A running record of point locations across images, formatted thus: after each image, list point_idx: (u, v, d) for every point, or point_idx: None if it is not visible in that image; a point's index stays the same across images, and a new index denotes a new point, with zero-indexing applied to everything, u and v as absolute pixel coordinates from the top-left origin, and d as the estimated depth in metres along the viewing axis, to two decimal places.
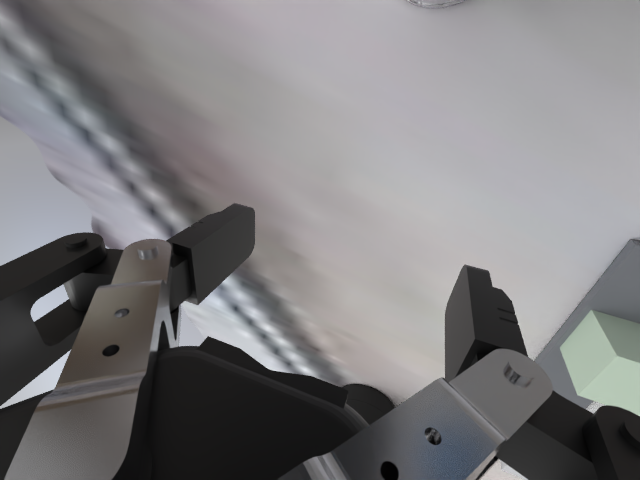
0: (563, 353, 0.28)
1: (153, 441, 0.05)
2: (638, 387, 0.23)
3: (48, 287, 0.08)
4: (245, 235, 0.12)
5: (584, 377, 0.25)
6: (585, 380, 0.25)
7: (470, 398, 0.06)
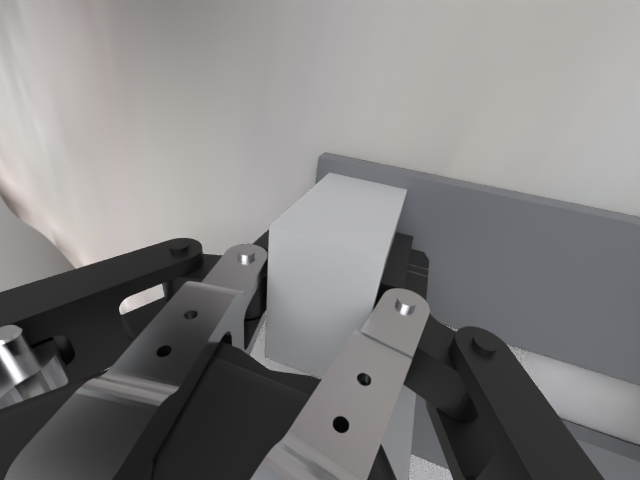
0: None
1: None
2: None
3: (141, 287, 0.08)
4: None
5: None
6: None
7: (379, 337, 0.07)
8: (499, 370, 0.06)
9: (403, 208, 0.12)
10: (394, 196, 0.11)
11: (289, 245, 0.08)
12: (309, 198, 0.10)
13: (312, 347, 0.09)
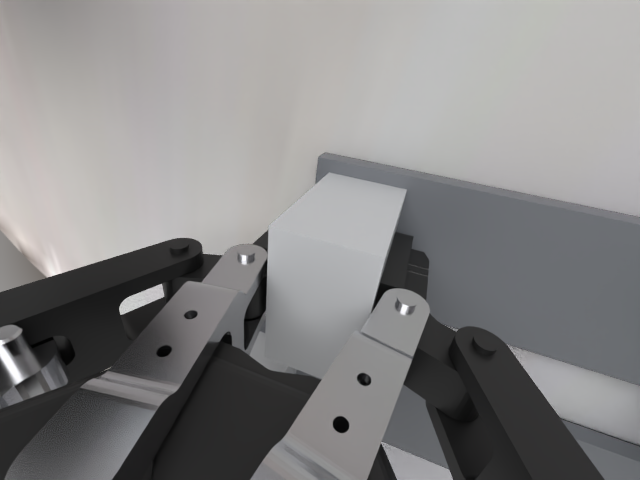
0: None
1: None
2: None
3: (142, 286, 0.08)
4: None
5: None
6: None
7: (379, 337, 0.07)
8: (499, 370, 0.06)
9: (403, 208, 0.12)
10: (394, 196, 0.11)
11: (288, 245, 0.08)
12: (308, 199, 0.10)
13: (312, 347, 0.09)
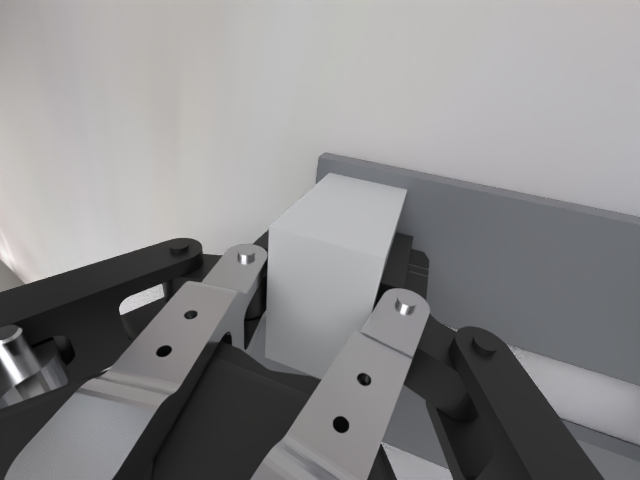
0: None
1: None
2: None
3: (141, 286, 0.08)
4: None
5: None
6: None
7: (379, 337, 0.07)
8: (499, 370, 0.06)
9: (403, 208, 0.12)
10: (394, 196, 0.11)
11: (289, 245, 0.08)
12: (309, 199, 0.10)
13: (312, 347, 0.09)
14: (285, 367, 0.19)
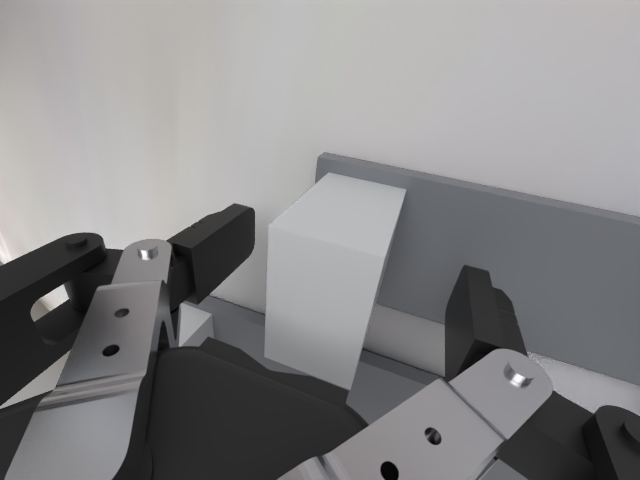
0: None
1: (153, 441, 0.05)
2: None
3: (48, 287, 0.08)
4: (245, 235, 0.12)
5: None
6: None
7: (470, 398, 0.06)
8: None
9: (402, 208, 0.12)
10: (393, 196, 0.11)
11: (288, 245, 0.08)
12: (308, 198, 0.10)
13: (311, 347, 0.09)
14: (282, 366, 0.19)
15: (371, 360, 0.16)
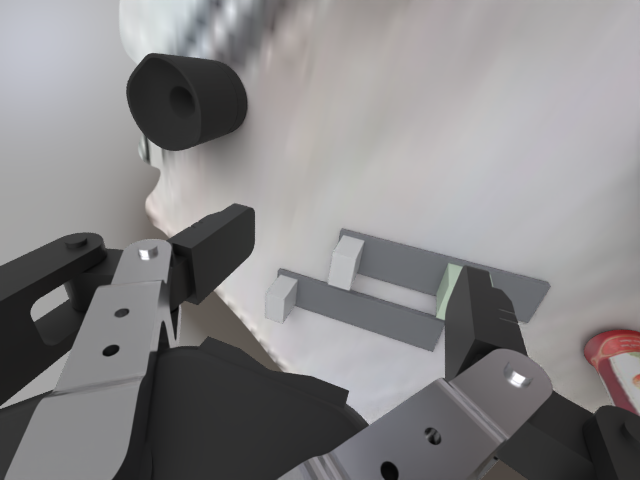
0: (450, 267, 0.39)
1: (153, 441, 0.05)
2: None
3: (48, 287, 0.08)
4: (245, 235, 0.12)
5: None
6: None
7: (470, 398, 0.06)
8: None
9: (363, 245, 0.43)
10: (360, 243, 0.42)
11: (336, 256, 0.39)
12: (339, 245, 0.41)
13: (340, 280, 0.40)
14: (324, 299, 0.50)
15: (356, 294, 0.47)
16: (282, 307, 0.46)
